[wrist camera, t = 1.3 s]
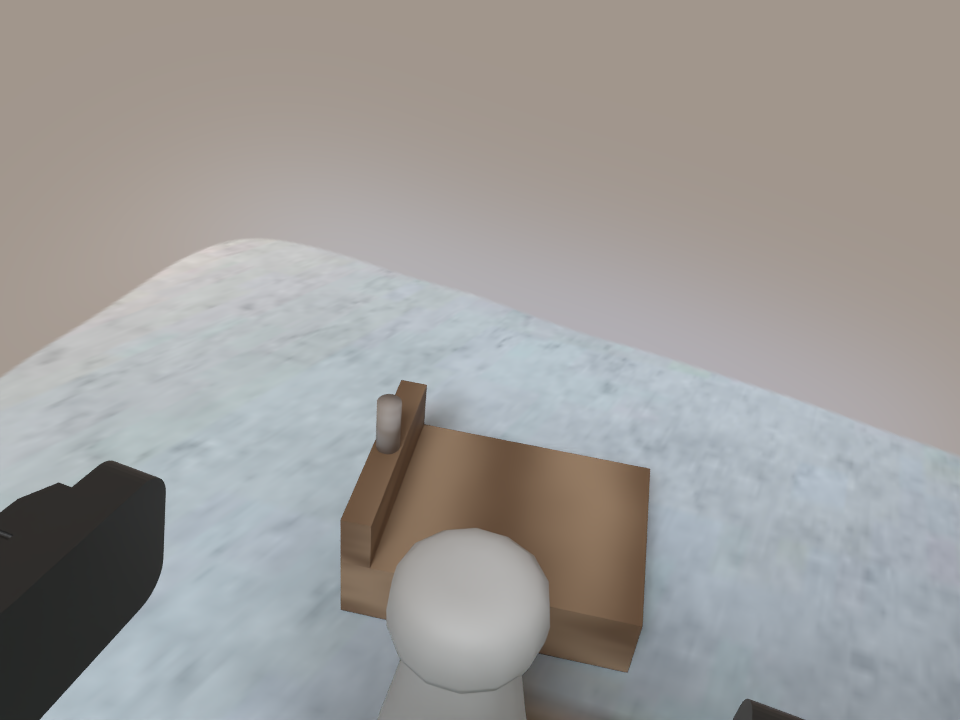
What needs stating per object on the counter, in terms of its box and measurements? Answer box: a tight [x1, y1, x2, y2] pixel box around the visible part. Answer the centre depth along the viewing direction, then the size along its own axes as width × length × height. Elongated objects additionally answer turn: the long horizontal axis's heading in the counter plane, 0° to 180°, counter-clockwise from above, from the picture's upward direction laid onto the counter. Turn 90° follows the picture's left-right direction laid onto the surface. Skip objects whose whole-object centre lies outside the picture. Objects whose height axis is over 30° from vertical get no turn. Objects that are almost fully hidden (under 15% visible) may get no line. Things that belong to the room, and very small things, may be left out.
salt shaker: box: [377, 528, 550, 720], centre depth 26 cm, size 6×6×13 cm
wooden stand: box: [341, 380, 650, 672], centre depth 38 cm, size 12×9×8 cm
